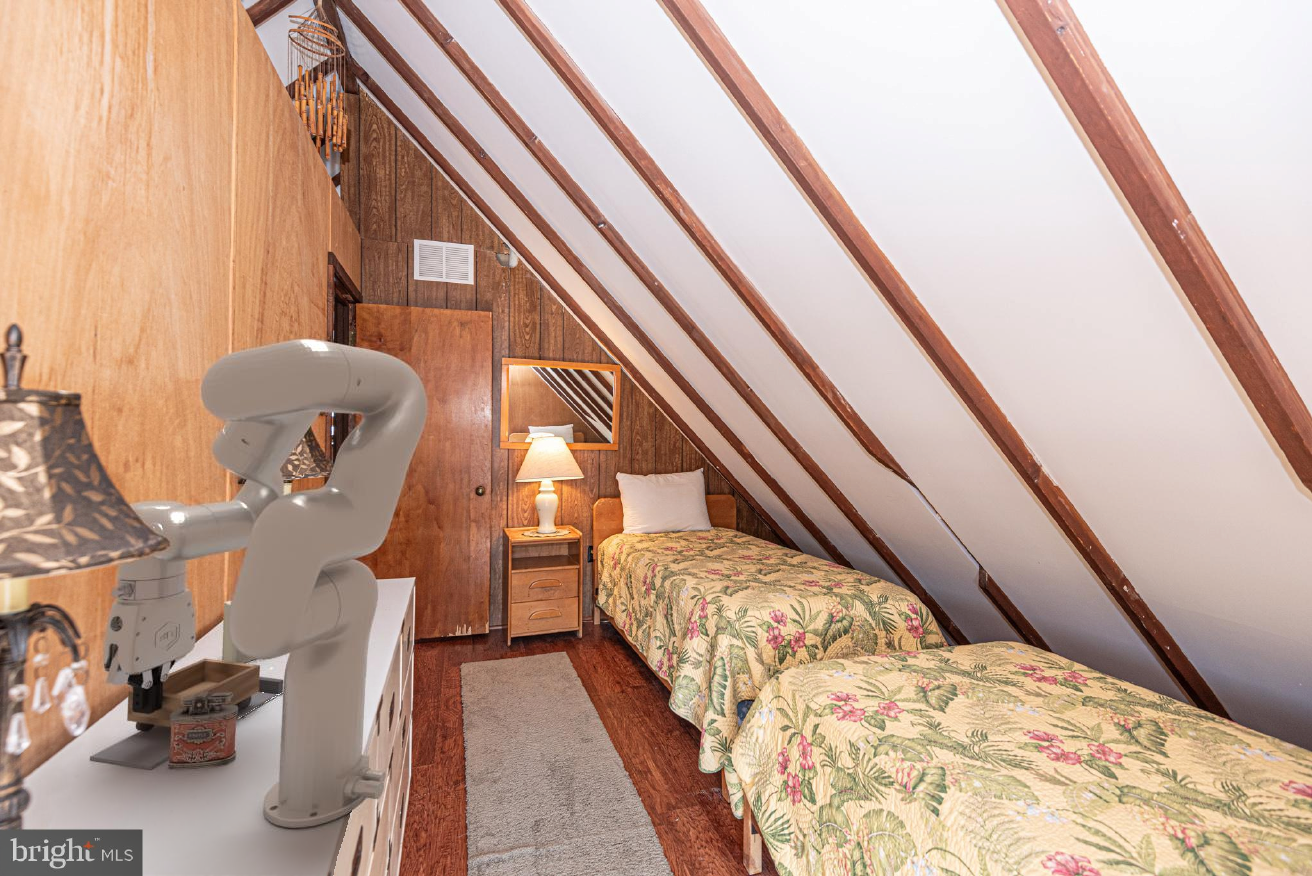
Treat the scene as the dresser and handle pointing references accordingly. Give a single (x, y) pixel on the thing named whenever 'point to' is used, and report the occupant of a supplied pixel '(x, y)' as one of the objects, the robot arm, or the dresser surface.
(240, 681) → the cart
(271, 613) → the robot arm
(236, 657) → the skincare box
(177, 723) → the lighter
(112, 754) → the track
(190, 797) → the dresser surface
